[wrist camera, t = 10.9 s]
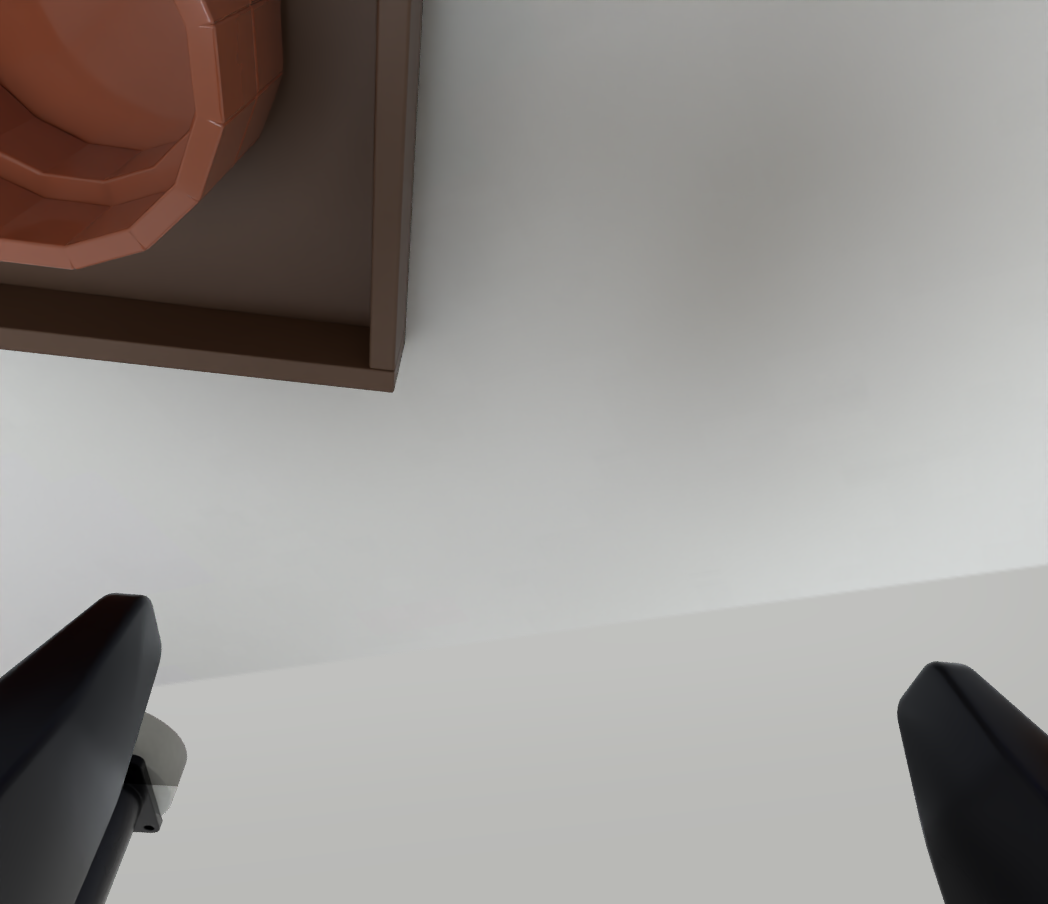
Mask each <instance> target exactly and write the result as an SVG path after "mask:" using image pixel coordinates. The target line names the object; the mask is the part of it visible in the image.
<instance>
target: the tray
mask: <svg viewBox="0 0 1048 904" xmlns="http://www.w3.org/2000/svg"><path fill="white" fill-rule="evenodd" d="M280 6H281V27H282V48H283V71H282V76H283V77H282V79H281V82H280V85H279V88H278V90H277V93H276V96H275V99H274V101H273V104H272V107H271V110H270V113H269V115H268V118H267V121H266V124H265V126H264V129H263V132H262V134H261V135H260V137H259V139H258V140H257V141H256V142H255V143H254V144H253V146H252V147H251V148H250V149H249V150H248V151H247V152H246V153H245V154H244V155H243V156H242V157H241V158H240V159H239V160H238V162H237V163H236V164H235V165H234V166H233V167H232V168H231V169H230V170H229V171H228V172H227V173H226V174H225V175H224V176H223V177H222V178H221V180H220V181H219V182H218V183H217V184H216V185H215V186H214V187H213V188H212V189H211V190H210V191H209V192H208V193H207V194H206V196H205V197H204V198H203V199H202V200H201V201H200V202H199V203H198V204H197V205H196V206H195V207H194V208H193V209H192V210H191V211H189V212H188V213H187V214H186V215H185V216H184V217H183V218H182V219H181V220H180V221H179V222H178V223H177V224H176V225H174V226H173V227H172V228H171V229H170V230H169V231H168V232H167V233H166V234H165V235H164V236H163V237H162V238H161V239H159V240H158V241H157V242H156V243H155V244H154V245H153V246H152V247H151V248H150V249H147V250H146V251H144V252H140V253H137V254H133V255H129V256H126V257H122V258H118V259H115V260H111V261H107V262H104V263H100V264H96V265H93V266H89V267H85V268H81V269H73V270H70V269H62V268H54V267H45V266H37V265H29V264H20V263H12V262H3V261H0V349H4V350H13V351H22V352H31V353H40V354H49V355H58V356H67V357H76V358H85V359H94V360H103V361H112V362H121V363H130V364H139V365H148V366H157V367H166V368H175V369H184V370H193V371H202V372H211V373H220V374H229V375H238V376H247V377H256V378H265V379H274V380H283V381H292V382H301V383H310V384H319V385H328V386H337V387H346V388H355V389H364V390H373V391H382V392H393V391H394V388H395V384H396V379H397V375H398V370H399V366H400V361H401V357H402V353H403V348H404V344H405V328H406V310H407V291H408V272H409V253H410V235H411V216H412V197H413V178H414V160H415V141H416V122H417V103H418V84H419V66H420V47H421V28H422V9H423V0H280Z"/></svg>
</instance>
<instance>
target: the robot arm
mask: <svg viewBox="0 0 1048 904" xmlns="http://www.w3.org/2000/svg"><path fill="white" fill-rule="evenodd" d="M160 657H161V640H160V635H159V631H158V627H157V622H156V618H155V614H154V609H153V605H152V603H151V600H150V599H149V598H148V597H147V596H143V595H135V594H123V593H111V594H108V595H106V596H104V597H102V598H101V599H99V600H98V601H97V602H95V603H94V604H93V605H92V606H90V607H89V608H88V609H87V610H85V611H84V612H83V613H82V614H80V615H79V616H78V617H77V618H75V619H74V620H73V621H71V622H70V623H69V624H68V625H66V626H65V627H64V628H63V629H61V630H60V631H59V632H58V633H56V634H55V635H54V636H53V637H51V638H50V639H49V640H47V641H46V642H45V643H44V644H42V645H41V646H40V647H39V648H37V649H36V650H35V651H34V652H32V653H31V654H30V655H29V656H27V657H26V658H25V659H23V660H22V661H21V662H20V663H18V664H17V665H16V666H15V667H13V668H12V669H11V670H10V671H8V672H7V673H6V674H5V675H3V676H2V677H1V678H0V904H105V902H106V899H107V896H108V894H109V891H110V889H111V886H112V884H113V881H114V878H115V876H116V874H117V871H118V868H119V866H120V863H121V861H122V858H123V856H124V853H125V851H126V848H127V846H128V843H129V841H130V838H131V835H132V833H133V832H147V833H153V832H154V833H155V832H158V831H159V829H160V827H161V824H162V818H161V814H160V811H159V807H158V804H157V800H156V797H155V794H154V790H153V787H152V783H151V780H150V777H149V773H148V770H147V767H146V763H145V760H144V759H143V758H142V757H140V756H138V755H134V754H132V753H133V750H134V746H135V743H136V740H137V736H138V733H139V730H140V726H141V723H142V720H143V716H144V713H145V710H146V706H147V703H148V700H149V696H150V693H151V690H152V686H153V683H154V680H155V676H156V673H157V670H158V666H159V662H160ZM897 715H898V723H899V728H900V732H901V737H902V741H903V746H904V750H905V755H906V759H907V764H908V768H909V773H910V777H911V782H912V786H913V791H914V795H915V800H916V804H917V809H918V813H919V818H920V822H921V826H922V830H923V834H924V838H925V842H926V846H927V849H928V853H929V856H930V859H931V863H932V866H933V869H934V872H935V875H936V878H937V881H938V884H939V887H940V890H941V893H942V896H943V900H944V902H945V904H1048V735H1047V734H1046V733H1045V732H1044V731H1043V730H1041V729H1040V728H1039V727H1038V726H1037V725H1036V724H1034V723H1033V722H1032V721H1031V720H1030V719H1029V718H1027V717H1026V716H1025V715H1024V714H1023V713H1022V712H1021V711H1020V710H1019V709H1017V708H1016V707H1015V706H1014V705H1013V704H1012V703H1011V702H1009V701H1008V700H1007V699H1006V698H1005V697H1004V696H1003V695H1001V694H1000V693H999V692H998V691H997V690H996V689H995V688H993V687H992V686H991V685H990V684H989V683H988V682H987V681H986V680H984V679H983V678H982V677H981V676H980V675H979V674H977V673H976V672H975V671H974V670H973V669H971V668H970V667H968V666H966V665H963V664H959V663H948V662H938V661H937V662H931V663H929V664H927V665H926V666H925V667H924V668H923V670H922V671H921V672H920V673H919V675H918V676H917V677H916V679H915V680H914V681H913V683H912V684H911V685H910V687H909V688H908V689H907V691H906V692H905V693H904V695H903V696H902V698H901V699H900V701H899V704H898V711H897Z"/></svg>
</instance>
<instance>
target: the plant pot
mask: <svg viewBox="0 0 1048 904" xmlns="http://www.w3.org/2000/svg"><path fill="white" fill-rule="evenodd" d="M282 71H283V48H282V27H281V6H280V0H0V261H3V262H12V263H20V264H29V265H37V266H45V267H54V268H62V269H70V270H73V269H81V268H85V267H89V266H93V265H96V264H100V263H104V262H107V261H111V260H115V259H118V258H122V257H126V256H129V255H133V254H137V253H140V252H144V251H146V250H147V249H150V248H151V247H152V246H153V245H154V244H155V243H156V242H157V241H158V240H159V239H161V238H162V237H163V236H164V235H165V234H166V233H167V232H168V231H169V230H170V229H171V228H172V227H173V226H174V225H176V224H177V223H178V222H179V221H180V220H181V219H182V218H183V217H184V216H185V215H186V214H187V213H188V212H189V211H191V210H192V209H193V208H194V207H195V206H196V205H197V204H198V203H199V202H200V201H201V200H202V199H203V198H204V197H205V196H206V194H207V193H208V192H209V191H210V190H211V189H212V188H213V187H214V186H215V185H216V184H217V183H218V182H219V181H220V180H221V178H222V177H223V176H224V175H225V174H226V173H227V172H228V171H229V170H230V169H231V168H232V167H233V166H234V165H235V164H236V163H237V162H238V160H239V159H240V158H241V157H242V156H243V155H244V154H245V153H246V152H247V151H248V150H249V149H250V148H251V147H252V146H253V144H254V143H255V142H256V141H257V140H258V139H259V137H260V135H261V134H262V132H263V129H264V126H265V124H266V121H267V118H268V115H269V113H270V110H271V107H272V104H273V101H274V99H275V96H276V93H277V90H278V88H279V85H280V82H281V79H282V77H283V76H282Z"/></svg>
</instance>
